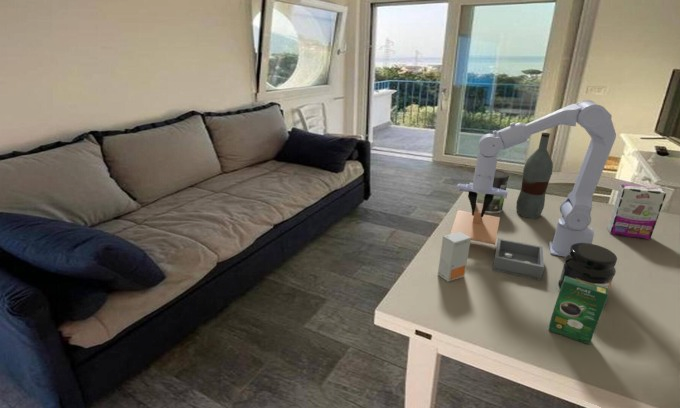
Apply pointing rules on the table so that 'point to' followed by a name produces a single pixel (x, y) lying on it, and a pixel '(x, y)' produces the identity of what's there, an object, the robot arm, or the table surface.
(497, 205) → the coffee can
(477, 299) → the table surface
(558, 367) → the table surface
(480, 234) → the lid
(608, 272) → the supplement container
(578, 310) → the coffee box
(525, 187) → the bottle
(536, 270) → the tub
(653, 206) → the candy bar box
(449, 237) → the skincare box
